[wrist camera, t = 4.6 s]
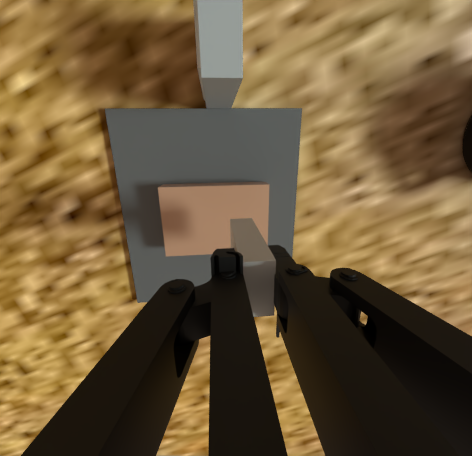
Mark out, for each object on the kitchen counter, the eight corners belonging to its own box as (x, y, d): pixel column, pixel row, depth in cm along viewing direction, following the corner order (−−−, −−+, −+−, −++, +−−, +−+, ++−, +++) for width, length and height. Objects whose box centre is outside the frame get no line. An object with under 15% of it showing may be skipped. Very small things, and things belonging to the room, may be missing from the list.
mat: (107, 109, 19) (104, 108, 18) (299, 109, 20) (301, 108, 20) (139, 299, 25) (137, 302, 24) (288, 289, 26) (289, 292, 25)
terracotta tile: (264, 181, 21) (163, 183, 21) (269, 184, 19) (157, 187, 19) (262, 242, 23) (170, 246, 22) (267, 251, 21) (165, 256, 20)
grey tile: (199, 22, 18) (187, -96, 9) (228, 23, 18) (242, -92, 10) (204, 109, 20) (197, 77, 11) (230, 109, 20) (242, 77, 11)
